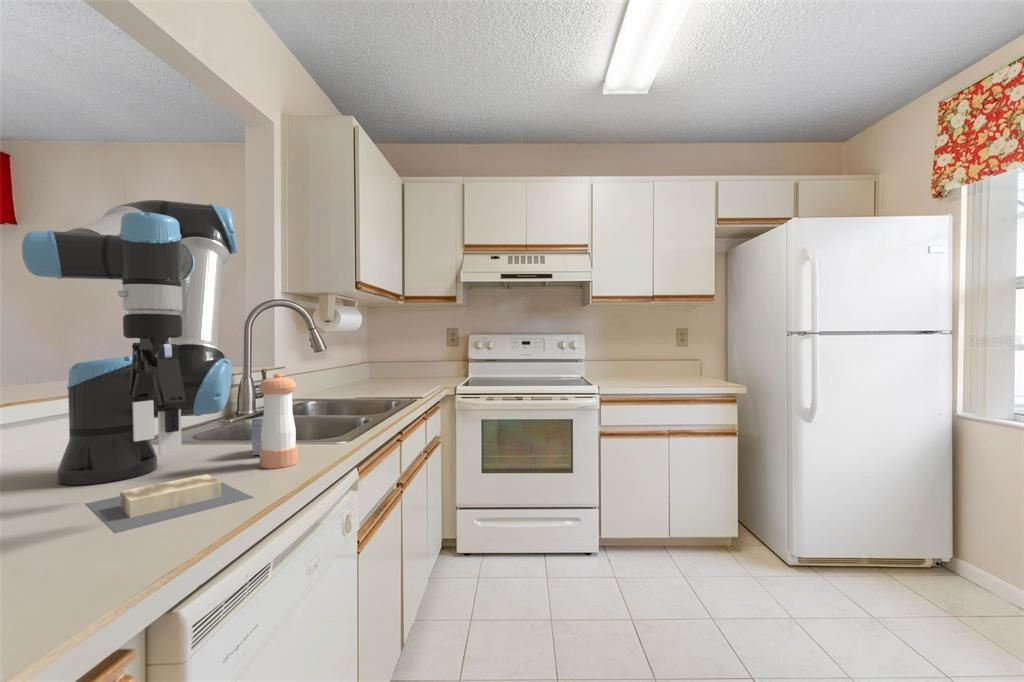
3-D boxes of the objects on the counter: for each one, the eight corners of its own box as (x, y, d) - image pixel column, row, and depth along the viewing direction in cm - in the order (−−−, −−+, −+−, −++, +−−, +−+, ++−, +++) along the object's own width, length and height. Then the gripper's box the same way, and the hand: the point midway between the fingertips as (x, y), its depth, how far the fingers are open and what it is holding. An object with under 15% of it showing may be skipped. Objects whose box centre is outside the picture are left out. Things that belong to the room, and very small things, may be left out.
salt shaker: (288, 457, 106) (286, 371, 106) (304, 463, 102) (302, 373, 101) (253, 465, 101) (252, 374, 100) (269, 470, 96) (267, 375, 96)
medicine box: (268, 457, 107) (268, 418, 107) (251, 456, 108) (250, 418, 108) (291, 448, 115) (291, 413, 115) (275, 448, 116) (274, 412, 116)
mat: (85, 505, 77) (85, 503, 77) (210, 478, 91) (210, 477, 91) (115, 535, 65) (115, 532, 65) (253, 499, 79) (253, 497, 79)
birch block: (120, 491, 75) (207, 474, 84) (120, 507, 75) (207, 488, 84) (129, 500, 70) (220, 481, 79) (130, 517, 70) (221, 496, 79)
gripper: (103, 314, 81) (107, 438, 81) (147, 310, 65) (151, 465, 66) (157, 314, 87) (160, 431, 87) (209, 311, 71) (212, 453, 72)
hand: (156, 446), depth 76 cm, fingers open, 13 cm apart
